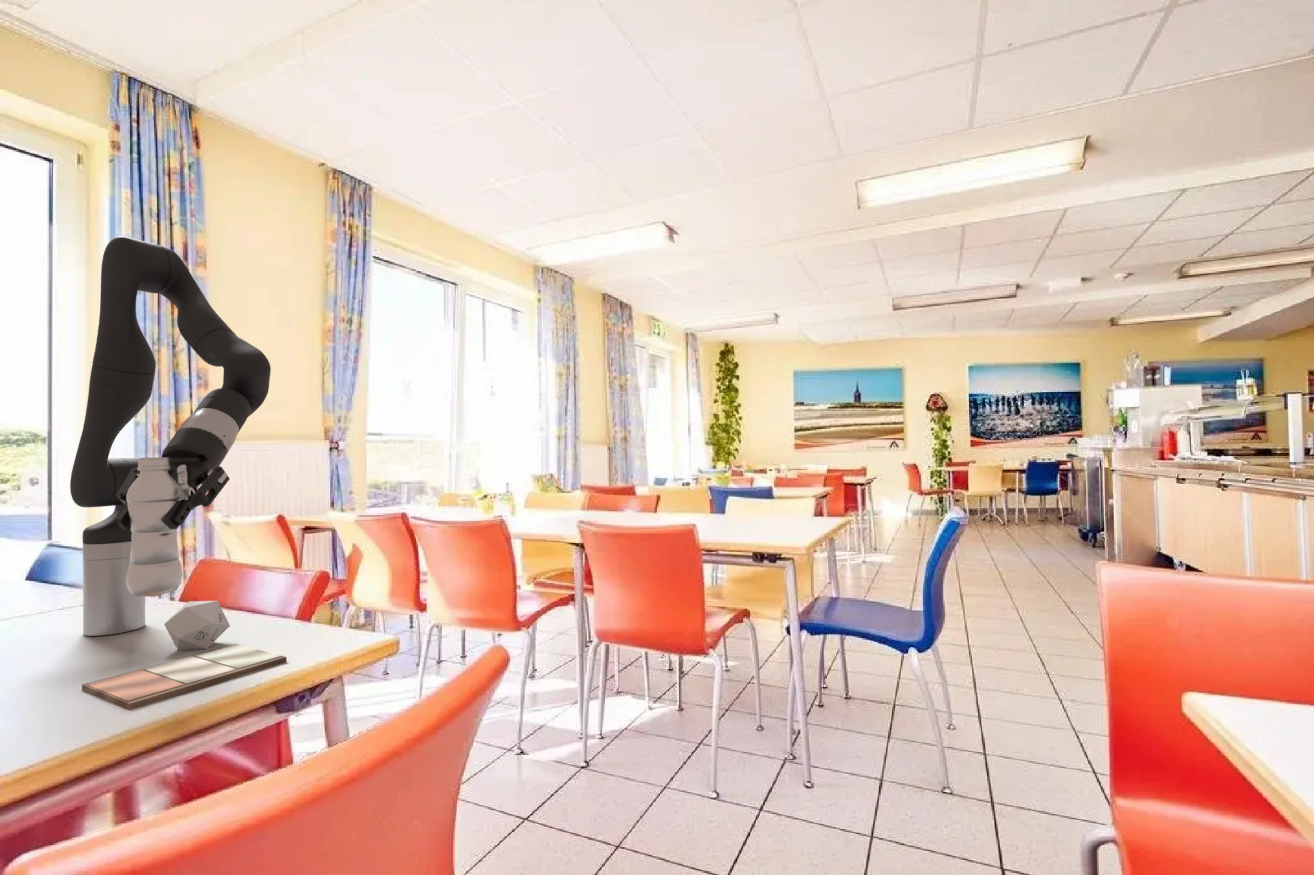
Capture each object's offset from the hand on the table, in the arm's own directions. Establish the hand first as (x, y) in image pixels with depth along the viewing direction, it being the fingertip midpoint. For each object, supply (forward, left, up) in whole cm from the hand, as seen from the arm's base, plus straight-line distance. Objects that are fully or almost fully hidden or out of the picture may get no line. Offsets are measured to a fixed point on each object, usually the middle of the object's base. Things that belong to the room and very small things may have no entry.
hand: (146, 525), depth 91 cm
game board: (-3, +7, -24) cm, 25 cm away
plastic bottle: (-1, +1, -11) cm, 11 cm away
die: (-18, +15, -24) cm, 33 cm away
